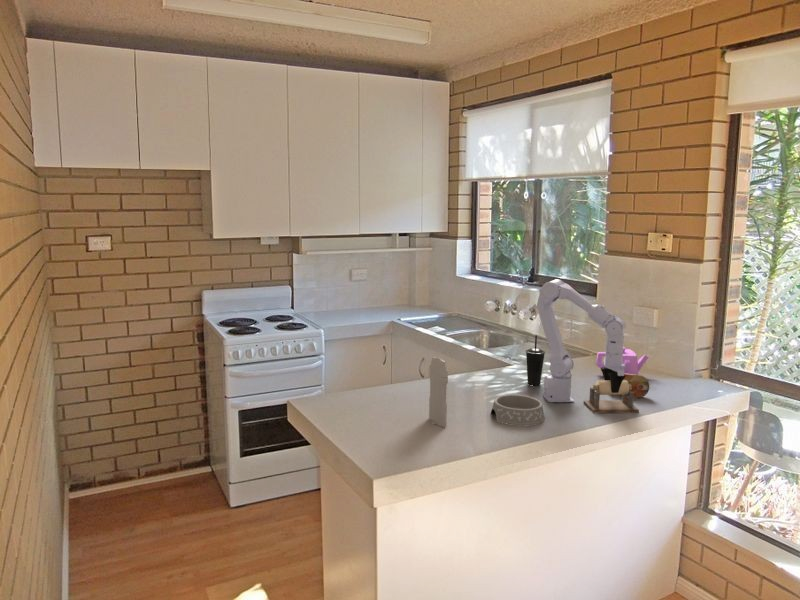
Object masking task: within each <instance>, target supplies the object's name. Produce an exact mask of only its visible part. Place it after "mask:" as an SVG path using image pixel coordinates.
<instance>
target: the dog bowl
mask: <svg viewBox="0 0 800 600" xmlns="http://www.w3.org/2000/svg"><path fill="white" fill-rule="evenodd" d="M493 410H494V411H493ZM493 412H494V413H495V416H496V421H497V422H499V421H500V422H499V423H502V422H503V423H502V424H505V423H507V424H506V425H510V424H511V426H518V425H519V426H520V425H521V426H520V427H523V426H524V425H529V426H536V425H539V424H541V423H543V422H544V421H545V419H546V417H545V413H544V406H543V403H542V401H541V400H539V399H537V398H535V397H532V396H529V395H523V394H504V395H500V396H497V397H496V398H494V400H493V404H492V408H491V411H490V413H493ZM538 423H539V424H538ZM535 424H536V425H535Z"/></svg>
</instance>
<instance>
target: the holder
mask: <svg viewBox="0 0 800 600" xmlns="http://www.w3.org/2000/svg"><path fill="white" fill-rule="evenodd" d="M621 396H622V395H621ZM633 396H634V393H633V392H632V391H629V393H628V394H626V395H623V396H622V397H621V398H622V399H621V400H619V399H618V400H615V399H614V400H612V399H611V400H600V397H601V395H600V393H599V392H596V391H594V390H593V387H589V399H588V400H583V404H584V405H585V407H586V408H588V409H589V410H590V412H592V413H595V414H601V413H603V414H604V413H605V414H606V413H607V414H609V413H611V414H612V413H613V414H614V413H615V414H617V413H639V412H640V409H639V408H638V407H636V406H635V405H634V397H633Z"/></svg>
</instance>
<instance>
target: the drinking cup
mask: <svg viewBox="0 0 800 600" xmlns="http://www.w3.org/2000/svg"><path fill="white" fill-rule="evenodd" d="M537 342H538V335H537V334H536V335H535V337H534V347H531V348H528V349H526V350H525V355H526V359H525V360H526V373H527V374H526V375H527V376H526V379H527V385H528V384H529V385H533V386H532V387H539V385H540V386H541V382H542V374H543V369H544V368H543V367H544V361H545V360H544V359H545V354H546V351H545V350H544V349H542V348H539V347H537V345H538V343H537ZM529 385H528V386H529Z"/></svg>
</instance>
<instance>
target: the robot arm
mask: <svg viewBox="0 0 800 600" xmlns="http://www.w3.org/2000/svg"><path fill="white" fill-rule="evenodd" d="M538 291H539V295H538V299H537V303H536V308H537V311H538V315H539V319H540V322H541V325H542V329H543V332H544V334H545V338H546V339H545V340H546V341H547V345H548V349H549V353H550V354H549V363H550V365H549V371H550V373H551V374H549V375H545V376H544V380H543V394H542V396H543V398H544V399H545V400H546V401H547V402H548V403H574V402H575V400H574V399H573V398H572V396H571V394H572V393H571V391H572V375H573V374H572V373H571V371H572V370H573V369H574V360H573V359H572V358H571V356H570V355H569V352H568V350H567V349H566V348H565V346H564V342H563V339H562V336H561V333H560V329H559V326H558V323H557V319H556V315H555V312H554V308H553V306H554V305H555V303H556V302H557V300H568V301H570V302H571V303H573V304H574V305H576V306H578V307H579V308H581V309H582V310H584V311H586V313H587V316H588V317H587V318H589V319H590V320H592V322H594V323H596V324H597V325H598V326H600V327H601V328H603V329H604V330H605V333H606V340H605V352H606V353H605V356H604V358H605V360H604V359H602V363H603V365H604V367H601V368H600V371H601V374H602V376H603V380H610V382H611V391H612V393H618V392H619V389H620V386H621V383H622V381H623V379H624V378H625V377H626V375H625V374H624V370H623V367H625V365H624V364H622V358H623V347H624V344H625V343H624V337H625V336H624V334H625V333H624V332H625V330H626V327H627V324H626V321H625V320H624V319H623V318H622V317H621V316H619V317H618V316H617V315H616V314H613V313H611V312H610V311H609V310H607V309H606V306H605V305H602V304H601V305H600V304H598V303H597V304H593V303H592V302H591V301H589V300H588V299H586V298H585V297H584V296H583V295H582V294H581V293H579V292H577V291H576V290H575V289H574V288H573V287H572V286H571V285H569V284H568V283H566V282H564V281H563V280H561V279H557V278H556V279H552V280H551V281H547V282H545V283H544V284H542V286H541V287H540V289H539V290H538Z"/></svg>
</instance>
